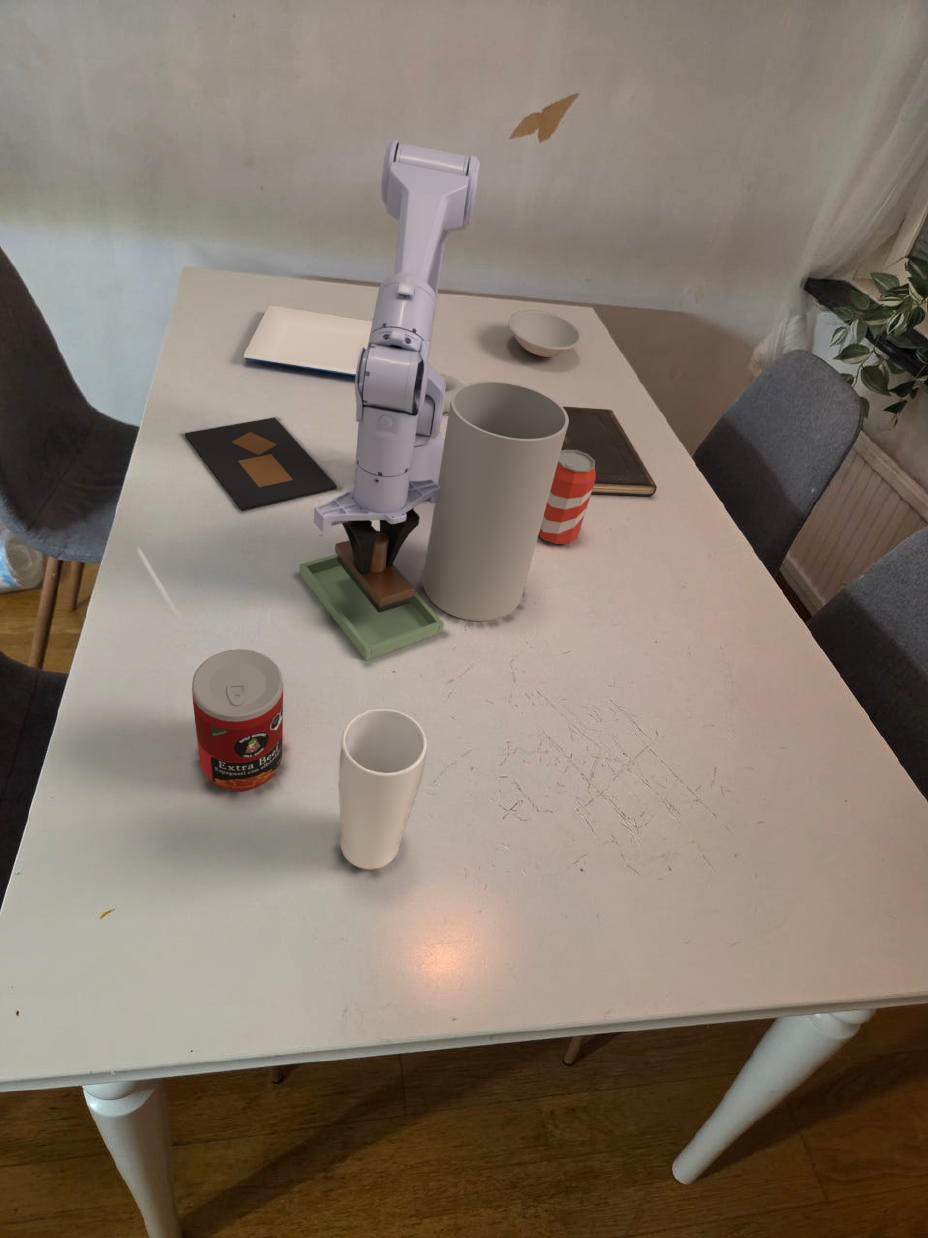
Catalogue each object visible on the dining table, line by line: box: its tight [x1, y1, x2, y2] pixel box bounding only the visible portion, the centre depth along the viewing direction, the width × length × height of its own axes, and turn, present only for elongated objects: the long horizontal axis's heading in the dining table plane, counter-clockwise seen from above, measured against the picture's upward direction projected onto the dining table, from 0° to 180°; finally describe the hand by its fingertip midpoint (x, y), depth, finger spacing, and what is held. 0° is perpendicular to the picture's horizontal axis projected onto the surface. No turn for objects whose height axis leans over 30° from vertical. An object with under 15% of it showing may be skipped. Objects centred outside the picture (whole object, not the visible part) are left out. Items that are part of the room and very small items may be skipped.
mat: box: [184, 417, 338, 512], centre depth 113 cm, size 14×20×1 cm
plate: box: [242, 305, 373, 377], centre depth 142 cm, size 22×22×2 cm
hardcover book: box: [561, 405, 658, 498], centre depth 129 cm, size 16×23×2 cm
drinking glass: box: [337, 708, 428, 870], centre depth 67 cm, size 7×7×15 cm
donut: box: [438, 372, 464, 413], centre depth 134 cm, size 10×4×10 cm
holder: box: [299, 553, 445, 661], centre depth 94 cm, size 10×16×2 cm, turn 35°
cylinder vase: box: [422, 380, 569, 622], centre depth 92 cm, size 12×12×25 cm
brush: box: [334, 530, 415, 613], centre depth 90 cm, size 11×4×6 cm, turn 34°
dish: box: [507, 309, 583, 358], centre depth 155 cm, size 18×14×5 cm
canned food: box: [191, 648, 284, 792], centre depth 72 cm, size 8×8×11 cm
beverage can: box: [538, 450, 596, 545], centre depth 108 cm, size 6×6×12 cm
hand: (373, 564), depth 91 cm, fingers closed on brush, 2 cm apart
